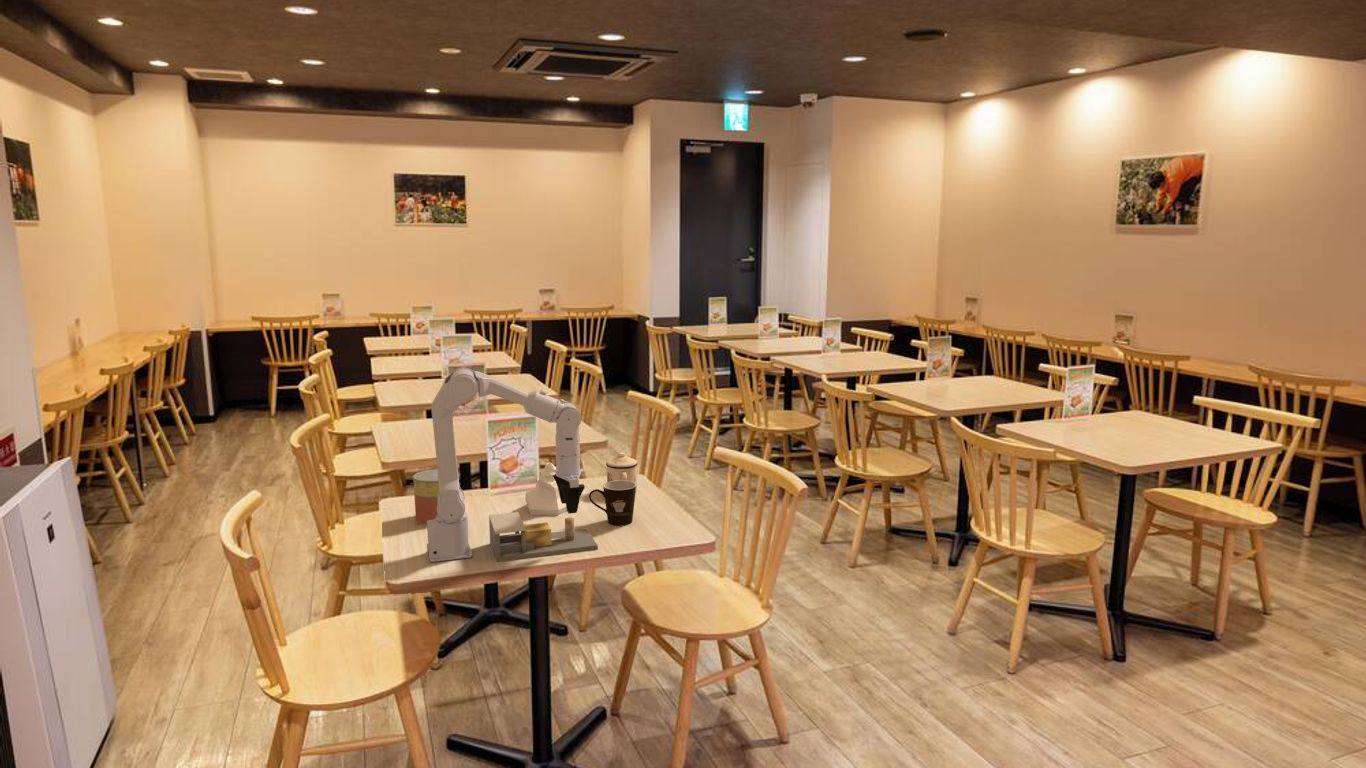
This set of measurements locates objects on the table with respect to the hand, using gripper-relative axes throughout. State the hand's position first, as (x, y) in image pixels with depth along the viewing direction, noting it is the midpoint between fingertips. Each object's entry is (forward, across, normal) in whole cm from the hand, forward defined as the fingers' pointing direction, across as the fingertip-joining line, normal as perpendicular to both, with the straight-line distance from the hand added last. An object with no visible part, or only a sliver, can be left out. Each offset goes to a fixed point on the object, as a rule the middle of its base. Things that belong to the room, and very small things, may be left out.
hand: (569, 507), depth 208 cm
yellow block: (+8, 0, +5) cm, 9 cm away
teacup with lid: (+9, +34, -23) cm, 42 cm away
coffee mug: (+9, +12, -15) cm, 21 cm away
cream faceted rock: (+9, +28, -1) cm, 30 cm away
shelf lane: (+9, 0, +6) cm, 11 cm away
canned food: (+9, +29, +29) cm, 42 cm away
